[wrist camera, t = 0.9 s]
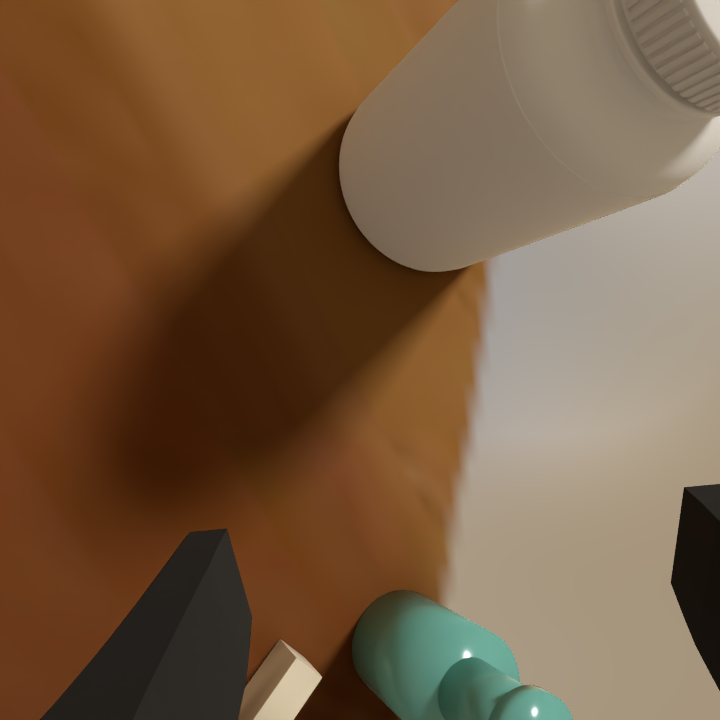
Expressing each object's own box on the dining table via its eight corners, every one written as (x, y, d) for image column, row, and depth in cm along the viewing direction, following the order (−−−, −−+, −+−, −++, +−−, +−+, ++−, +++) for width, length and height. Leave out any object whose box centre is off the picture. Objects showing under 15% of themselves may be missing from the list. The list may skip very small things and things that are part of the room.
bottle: (405, 716, 26) (546, 849, 18) (331, 659, 25) (447, 774, 17) (461, 626, 27) (616, 714, 19) (393, 569, 26) (527, 638, 18)
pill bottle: (512, 273, 29) (899, 152, 15) (343, 278, 26) (640, 131, 12) (493, 95, 29) (857, -180, 16) (323, 79, 26) (594, -283, 13)
